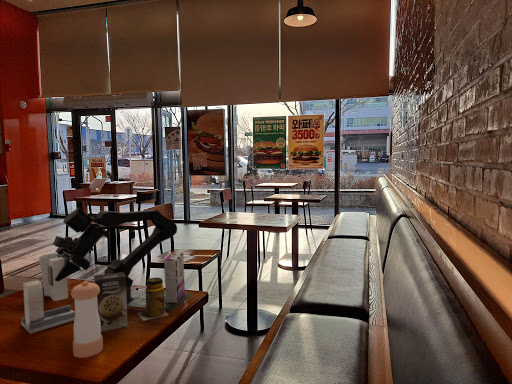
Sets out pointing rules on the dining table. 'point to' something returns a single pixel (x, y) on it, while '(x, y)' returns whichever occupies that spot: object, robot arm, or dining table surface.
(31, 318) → the grey and white holder
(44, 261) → the cup
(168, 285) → the candy bar box
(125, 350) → the dining table surface
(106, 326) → the coffee box
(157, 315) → the condiment
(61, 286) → the finger
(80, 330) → the pepper shaker
